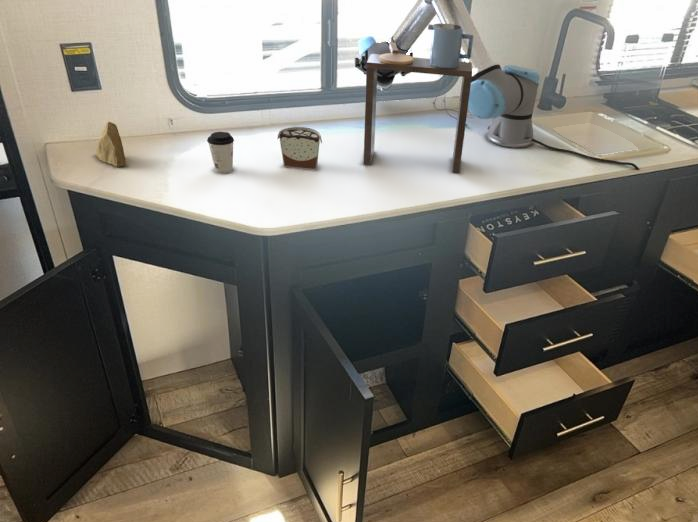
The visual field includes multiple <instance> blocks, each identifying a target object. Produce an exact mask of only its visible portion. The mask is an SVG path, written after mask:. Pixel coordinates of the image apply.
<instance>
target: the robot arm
mask: <svg viewBox="0 0 698 522" xmlns="http://www.w3.org/2000/svg"><path fill="white" fill-rule="evenodd" d="M436 16H437V19H438V20H439V22H440V24H441V23H443V24H454V25H459V26H462V27H463V28H464V29H463V34H470V35H473V45H472V52H471V58H470V59H462V58H460V62H471V63H472V79H471V87H470V95H469V102H468V111H469V112H470V114H472V115H473V116H474V117H476V118H478V119H480V120H492V122H491V124H490V125H489V126H488V127H487V128H486V129H487V133H486V134H487V135H486V139H487V140H488V141H489V142H490V143H492V144H495V145H497V146H500V147H505V148H511V149H512V148H513V149H521V148H528V147H530V146H532V145H533V143H535V144H538V145H540V146H542V147H544V148H546V149H548V150H549V149H550V150H553V151H557V152H563V153H568V154H572V155H575V156H579V157H582V158H585V159H589V160H592V161H597V162H602V163H608V164H615V165H620V166H631V167H633V168H634V169H635V170H636V171H640V168H639V167H638V165H636V164H635V163H633V162H627V161H618V160H611V159H605V158H599V157H594V156H590V155H587V154H584V153H581V152H577V151H575V150H570V149H565V148H559V147H554V146H552V145H548V144H545V143H544V142H542V141H539V140H537V139H535V138H534V136H535V135H534V127H533V120H532V119H533V113H534V108H535V104H536V99H537V94H538V88H539V86H540V73H539V71H537V70H535V69H532V68H529V67H524V66H519V65H511V64H509V65H504V66H503V68H502V67H501V65H500V63H498V62H495V61H493V60H492V58H491V56H490V54H489V51H488V50H487V48H486V45H485V44H484V41H483V39H482V37H481V35H480V34H479V31H478V29H477V27H476V26H475V23H474V21H473V19H472V17H471V15H470V12H469V11H468V9H467V6H466V4H465V2H464V0H417V1H416V3H415V4H414V5H413V7H412V8H411V9H410V11H409V12H408V13H407V15H406V16H405V18H404V19H403V21H402V22H401V23H400V24H399V26H398V28H397V29H396V30H395V32H393V34H392V36H391V37H390V39H391V42H395V44H396V46H397V49H398V53H400V54H406V53H407V52H408V50H409V49H410V48H411V49H412V47H413V45H414V44H415V42H417V40H418V39H419V37H420V36H421V35H422V34H423V33H424V31H425V30H426V28H428V25H430V23H431V22H432V20H433V19H434V18H435V17H436ZM358 41H359V42H358ZM358 41H357V42H358V50H359V56H360V59H359V58H358V57H354V68H356V69H358V70H359V71H361V72H362V73H363V75H365V76H366V72H367V61H368V59H369V57H370V55H371V54H381V55H382V54H386V53H391V51H390V48H389V43H388V42H386V41H380V42H381V43H379V42H377V41H376V39H375V38H374V36H371V35H368V36H365V37H362V38H361V39H359V40H358ZM468 43H469V39H463V38H462V46H461V54H467V51H468ZM409 56H412V57H414V53H413V52H411V53H410V55H409ZM411 73H412V72H404V71H392V70H381V69H378V72H377V89H378V90H381V91H384V90H387V89H389V88H390V87H391V88H392V85H393V82H394V80H395V78H396V75H398V74H400V76H401V77H405V76H407V75H408V74H411Z"/></svg>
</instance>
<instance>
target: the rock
mask: <svg viewBox="0 0 698 522" xmlns="http://www.w3.org/2000/svg"><path fill="white" fill-rule="evenodd" d="M95 157H97V158H98V160H99V161H102V162H103V163H106V164H109V165H112V166H114V167H117V168H118V167H125V166H126V156H125V152H124V146H123V141H122V137H121V135H120V133H119V128H118V126H117V124H115V123H114V122H111V121H107V122H106V125H105V126H104V129H103V131H102V134H101V136H100V140H99V142H98V144H97V147H96V155H95Z"/></svg>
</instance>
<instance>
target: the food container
mask: <svg viewBox="0 0 698 522" xmlns="http://www.w3.org/2000/svg"><path fill="white" fill-rule="evenodd" d="M276 140H279V144H280V151H281V156H282V163H283V168H289V169H290V168H291V169H299V170H301V169H302V170H311V171H313V170H314V171H318V162H319V152H320V144H322V143H323V140H322V136H321V133H320V132H319V131H318V130H316V129H314V128H311V127H305V126H292V127H285V128H282V129H281V130H279V131H278V134H277V139H276Z"/></svg>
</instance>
